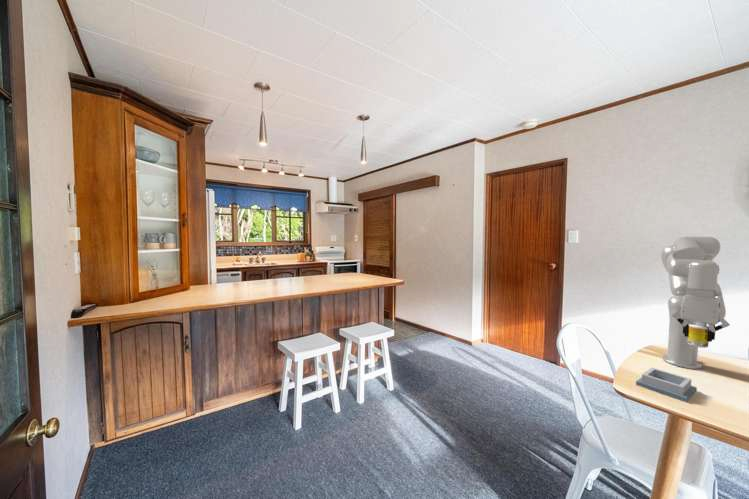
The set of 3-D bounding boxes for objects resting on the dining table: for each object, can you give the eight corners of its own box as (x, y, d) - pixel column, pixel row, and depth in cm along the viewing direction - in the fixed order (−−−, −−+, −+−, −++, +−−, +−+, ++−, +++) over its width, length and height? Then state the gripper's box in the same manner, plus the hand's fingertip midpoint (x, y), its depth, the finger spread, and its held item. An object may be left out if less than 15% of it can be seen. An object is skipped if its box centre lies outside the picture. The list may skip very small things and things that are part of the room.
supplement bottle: (706, 349, 111) (708, 323, 110) (685, 344, 115) (687, 319, 115) (709, 346, 114) (711, 320, 113) (688, 341, 118) (690, 317, 118)
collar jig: (648, 375, 124) (648, 365, 123) (696, 391, 112) (697, 379, 112) (636, 384, 116) (636, 373, 116) (686, 402, 104) (687, 390, 104)
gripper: (737, 296, 108) (734, 343, 109) (673, 288, 123) (670, 330, 124) (734, 298, 104) (730, 347, 105) (667, 290, 119) (665, 333, 120)
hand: (698, 338), depth 114 cm, fingers closed on supplement bottle, 5 cm apart
